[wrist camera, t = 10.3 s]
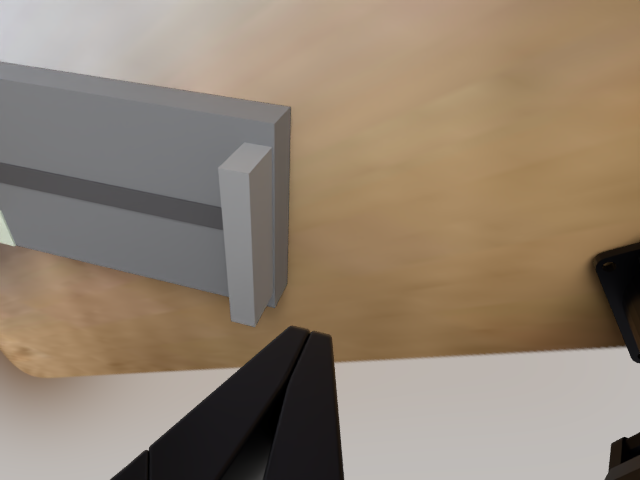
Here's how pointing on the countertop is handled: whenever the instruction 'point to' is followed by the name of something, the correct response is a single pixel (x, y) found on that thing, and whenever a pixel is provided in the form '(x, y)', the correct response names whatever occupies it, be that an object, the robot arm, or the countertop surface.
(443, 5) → the countertop surface
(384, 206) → the countertop surface
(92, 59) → the countertop surface
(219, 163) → the grooved grey tray
